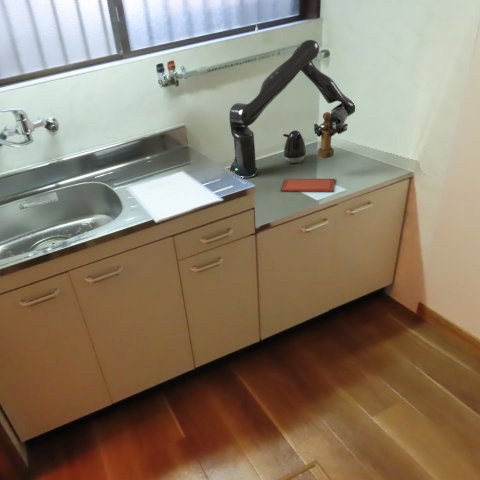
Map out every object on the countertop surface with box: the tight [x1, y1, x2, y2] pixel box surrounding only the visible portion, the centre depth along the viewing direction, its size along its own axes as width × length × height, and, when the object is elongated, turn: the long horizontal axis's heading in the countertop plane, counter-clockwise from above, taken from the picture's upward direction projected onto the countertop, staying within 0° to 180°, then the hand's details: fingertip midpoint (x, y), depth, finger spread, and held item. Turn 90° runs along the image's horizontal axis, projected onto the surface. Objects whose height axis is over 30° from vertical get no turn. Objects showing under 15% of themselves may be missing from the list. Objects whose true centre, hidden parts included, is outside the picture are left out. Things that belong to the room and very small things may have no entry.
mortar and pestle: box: [316, 111, 335, 159], centre depth 166 cm, size 7×6×18 cm
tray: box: [281, 178, 335, 193], centre depth 170 cm, size 20×12×1 cm, turn 67°
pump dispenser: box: [282, 129, 307, 164], centre depth 192 cm, size 10×10×15 cm
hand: (324, 134), depth 164 cm, fingers closed on mortar and pestle, 4 cm apart
